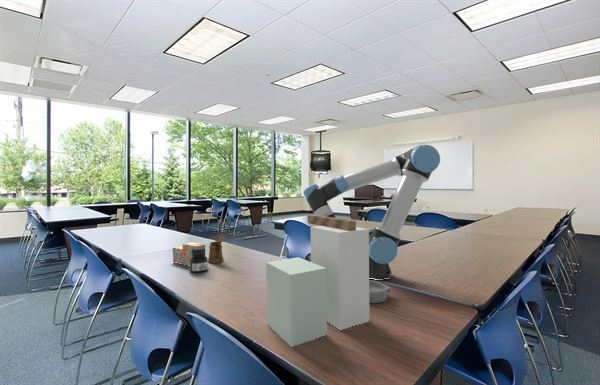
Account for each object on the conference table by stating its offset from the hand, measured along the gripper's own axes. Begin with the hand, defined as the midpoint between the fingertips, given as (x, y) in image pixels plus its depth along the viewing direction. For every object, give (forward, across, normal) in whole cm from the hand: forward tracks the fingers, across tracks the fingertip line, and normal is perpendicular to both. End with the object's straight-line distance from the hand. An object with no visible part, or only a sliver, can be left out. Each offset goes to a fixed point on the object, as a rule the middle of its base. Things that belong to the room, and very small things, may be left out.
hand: (350, 261), depth 124 cm
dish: (+16, +2, 0) cm, 16 cm away
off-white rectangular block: (+14, +18, -15) cm, 28 cm away
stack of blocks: (-42, -46, -76) cm, 98 cm away
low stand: (+10, +27, -29) cm, 41 cm away
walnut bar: (-14, +24, -4) cm, 28 cm away
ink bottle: (-33, -33, -68) cm, 83 cm away
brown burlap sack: (-37, -50, -62) cm, 88 cm away
